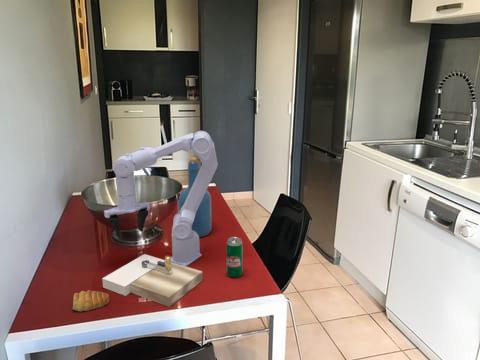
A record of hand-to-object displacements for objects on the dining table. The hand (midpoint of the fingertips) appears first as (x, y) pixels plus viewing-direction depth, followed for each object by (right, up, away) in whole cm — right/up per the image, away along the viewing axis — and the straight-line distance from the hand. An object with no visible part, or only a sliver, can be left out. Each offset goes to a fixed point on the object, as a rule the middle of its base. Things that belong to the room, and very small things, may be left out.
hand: (129, 233), depth 130 cm
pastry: (-5, -17, -20) cm, 27 cm away
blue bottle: (+19, -3, +27) cm, 33 cm away
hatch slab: (+15, -14, -12) cm, 24 cm away
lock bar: (+11, -10, -8) cm, 17 cm away
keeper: (+12, -10, -7) cm, 17 cm away
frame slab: (+4, -13, -7) cm, 15 cm away
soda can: (+35, -13, -4) cm, 37 cm away
